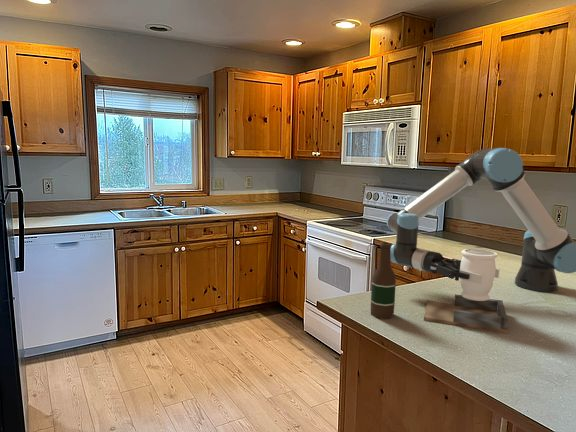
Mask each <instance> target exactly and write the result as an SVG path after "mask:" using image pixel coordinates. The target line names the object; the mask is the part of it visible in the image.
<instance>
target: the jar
mask: <svg viewBox="0 0 576 432" xmlns="http://www.w3.org/2000/svg"><path fill="white" fill-rule="evenodd" d="M461 254H462V258H461V259H460V260H461V264H460V270H464V271H468V272H472V273H476V274H480V275H482V276H481V283H480V284H479V283H475V282H471V281H467V280H463V279H460V286H461V289H462V291H461V293H460V295H462V296H463V297H464V298H466V299H470V300H474V301H486V300H489V299H490V296H489V293H490V292H491V290H492V288H493V284H494V281H495V278H496V277H495V272H496V269H497V268H496V266H497V265H496V258H497V257H498V253H497V252H494V251H493V250H492V251H491V250H487V249H481V248H464V249H461ZM460 270H459V271H460Z"/></svg>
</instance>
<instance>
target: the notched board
mask: <svg viewBox="0 0 576 432" xmlns="http://www.w3.org/2000/svg"><path fill="white" fill-rule="evenodd" d="M423 321H427V322H435V323H441V324H446V325H447V324H448V325H453V326H459V327H466V328H472V329H477V330H478V329H479V330H484V331H491V332H495V333H496V332H497V333H504V334H508V332H509V329H508V315H507V312H506V308H505V304H504V301H503V300H502V299H501V300H500V299H494V298H489V300H486V301H474V300H470V299H466V298H464V297H463V296H462V295H461V294H454V303H450V302H442V301H436V300H435V301H434V300H427V302H426V306H425V311H424V314H423Z"/></svg>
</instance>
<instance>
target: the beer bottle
mask: <svg viewBox="0 0 576 432" xmlns="http://www.w3.org/2000/svg"><path fill="white" fill-rule="evenodd" d="M391 246H392V244H391V242H390V243H389V242H381V243H380V244H379V247H380V248H379V259H378V265H377V268H376V270H375V271H374V273H373V274H372V278H371V292H370V293H371V294H370V295H371V296H370V315H371V316H373V317H374V318H376V319H383V320H385V319H387V320H388V319H392V318H393V316H394V313H395V302H396V283H397V280H396V279H397V278H396V275H395V271H393V268H392V264H391V262H392V261H391V254H390V248H391Z"/></svg>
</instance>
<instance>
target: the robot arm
mask: <svg viewBox="0 0 576 432" xmlns="http://www.w3.org/2000/svg"><path fill="white" fill-rule="evenodd" d="M523 167H524V162H523V159H522V157H521V155H520V154H519V153H518V152H517V151H515V150H513V149H511V148H506V147H496V148H482V149H480V150H477V151H475V152H473V153H472V154H471V155H469V156H468V157H467V158H465V159H464V160H462V161H461V162H460V163H459V164H457V165H456V166H455V168H454V171H452V172H451V173H450V174H447V176H446V177H444V178H443V179H441V180H440V181H438V182H437V183H436V184H435V185H433V186H432V187H431V188H429V189H427V190H426V191H425V192H423V193H422V194H421V195H419V196H418V197H417V198H415V199H414V200H413V201H412V202H410V203H408V204H407V205H406V206H404V207H403V208H402V209H401V210H399V211H398V212H392V213H391V214H389V215H388V216H387V218H386V226H387V227H388V229H389V230H390V231H392V232H393V233H394V234H396V237H395V238H396V240H395V243H393V244H391V248H390V254H391V262H392V263H394V264H397V265H399V266H403V267H408V268H412V269H415V270H418V272H422V271H423V272H426V273H430V274H433V275H437V274H439V275H441V276H444V277H446V278H449V279H451V280H452V279H453V280H455V281H457V282H459V279H460V280H461V279H463V280H467V281H471V282H475V283H479V284H480V283H481V276H482V275H480V274H476V273H472V272H468V271H464V270H460V264H461V260H462V259H457V258H451V259H450V258H445V259H444V256H443V254H442V253H440V252H439V251H433V250H429V249H424V248H419V247H418V236H419V224H420V222H419V221H421V220H422V219H423V218H425V217H426V216H427V215H428V214H430V213H431V212H433V211H434V210H435V209H437V208H438V207H440V206H441V205H442V204H444V203H445V202H446V201H448V200H449V199H451V198H452V197H453V196H455V195H457V194H458V193H459V192H460V191H462V190H463V189H465V188H466V187H467V186H468V187H471V186H473V185H475V184H476V183H478V182H481V181H484V180H486V181H487V183H488V184H489V185H490V186H491V188H492V189H493V191H495V192H499V193H501V194H502V196H503V197H504V198H505V200H506V201H507V202H508V205H510V207H511V208H512V209H513V211H514V212H515V214H516V215H517V216H518V218H519V219H520V221H522V223H523V225H524V226H525V228H526V229H527V230H526V231H525V232H524V235H523V239H522V241H523V243H522V254H521V264H520V267H519V270H518V272H517V273H516V275H515V277H514V284H515V285H516V286H518V288H519V287H520V288H521V289H522V288H523V289H526V290H531V291H535V292H549V293H550V292H556V291H558V286H559V283H558V280H557V275H556V272H555V270H556V271H557V272H559V273H563V274H574V273H575V272H576V241H574V240H573V239H572V237H571V235H570V234H569V232H568V231H567V230H566V229H563V228H559V227H558V225H557V224H556V222H555V221H554V220H553V218H552V217H551V215H550V214H549V212H548V211H547V210H546V208H545V207H544V205H543V204H542V202H541V201H540V200H539V199H538V196H536V194H535V193H534V191H533V190H532V188H531V187H530V186H529V185H528V183H527V182H526V180H525V176H526V172H525V170H524V168H523ZM499 277H500V269H499V268H496V272H495V278H496V279H499Z"/></svg>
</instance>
